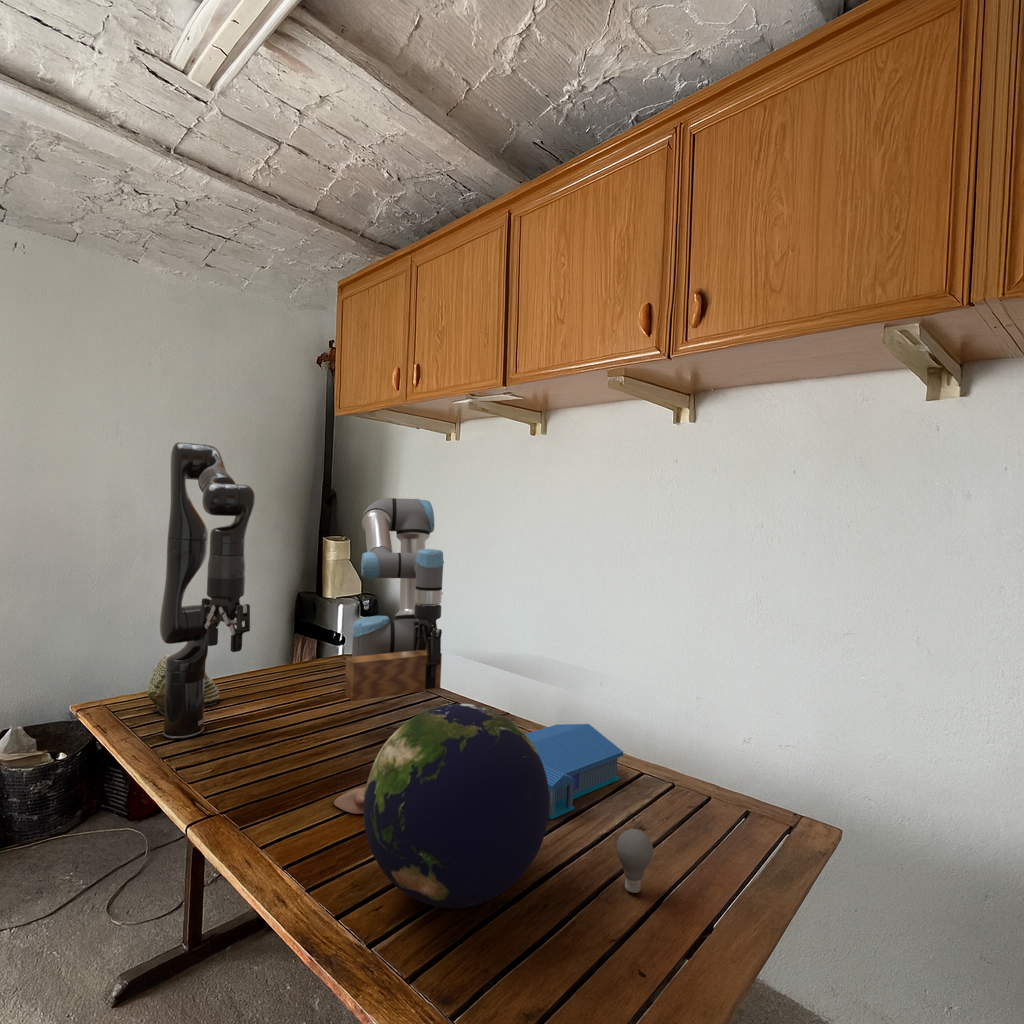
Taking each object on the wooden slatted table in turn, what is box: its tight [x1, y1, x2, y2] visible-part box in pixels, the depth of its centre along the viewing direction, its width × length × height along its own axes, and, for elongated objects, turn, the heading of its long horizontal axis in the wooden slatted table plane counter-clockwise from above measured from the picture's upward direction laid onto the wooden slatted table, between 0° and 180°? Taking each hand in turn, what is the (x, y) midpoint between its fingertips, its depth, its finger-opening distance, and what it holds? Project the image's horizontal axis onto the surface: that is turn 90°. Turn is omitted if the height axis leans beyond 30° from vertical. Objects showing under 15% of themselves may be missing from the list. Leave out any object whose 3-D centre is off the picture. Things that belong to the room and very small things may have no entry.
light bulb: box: [615, 828, 654, 894], centre depth 106 cm, size 6×6×10 cm
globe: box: [363, 703, 549, 909], centre depth 103 cm, size 30×30×30 cm
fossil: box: [147, 654, 221, 711], centre depth 185 cm, size 9×18×15 cm, turn 132°
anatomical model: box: [333, 786, 366, 815], centre depth 132 cm, size 13×4×12 cm
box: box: [344, 649, 443, 702], centre depth 174 cm, size 26×6×10 cm, turn 123°
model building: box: [524, 723, 624, 820], centre depth 142 cm, size 39×24×10 cm, turn 132°
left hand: (223, 648), depth 139 cm, fingers open, 8 cm apart
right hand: (424, 684), depth 180 cm, fingers closed on box, 6 cm apart
